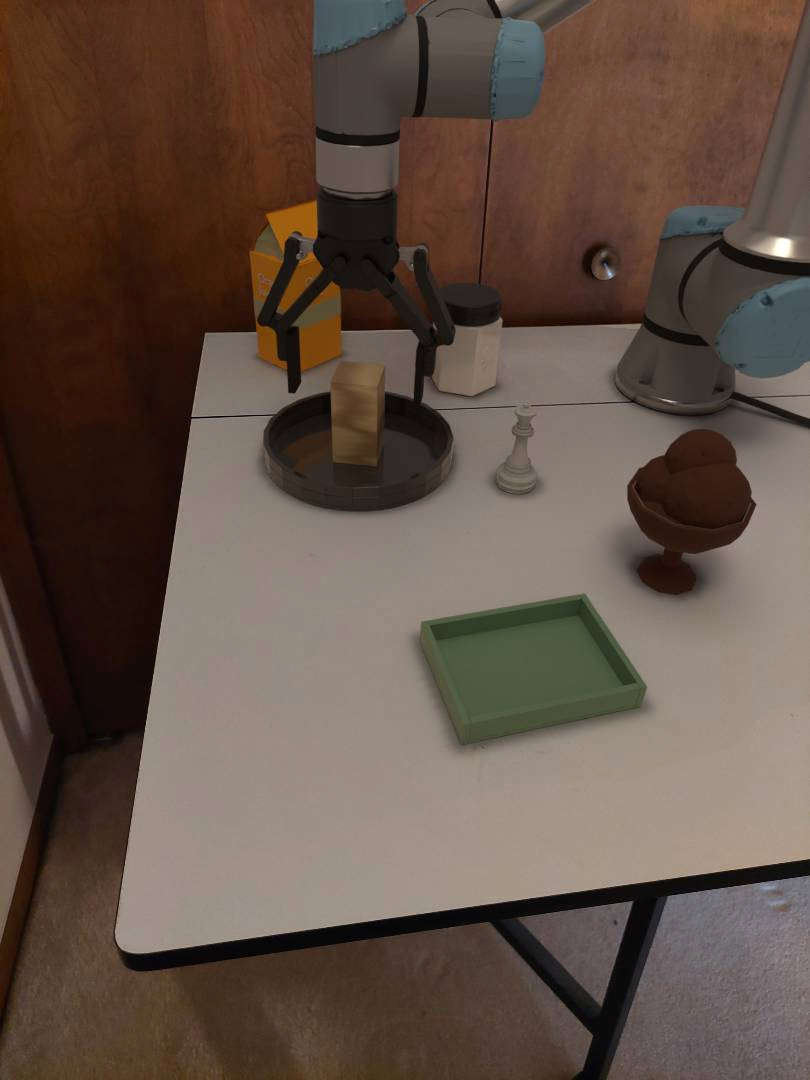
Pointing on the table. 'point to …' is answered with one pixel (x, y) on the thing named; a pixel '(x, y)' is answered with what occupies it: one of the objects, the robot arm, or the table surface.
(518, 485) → the chess piece
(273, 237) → the orange juice
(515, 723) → the tray
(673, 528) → the ice cream bowl
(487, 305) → the jar
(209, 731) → the table surface
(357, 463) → the block
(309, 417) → the pan
